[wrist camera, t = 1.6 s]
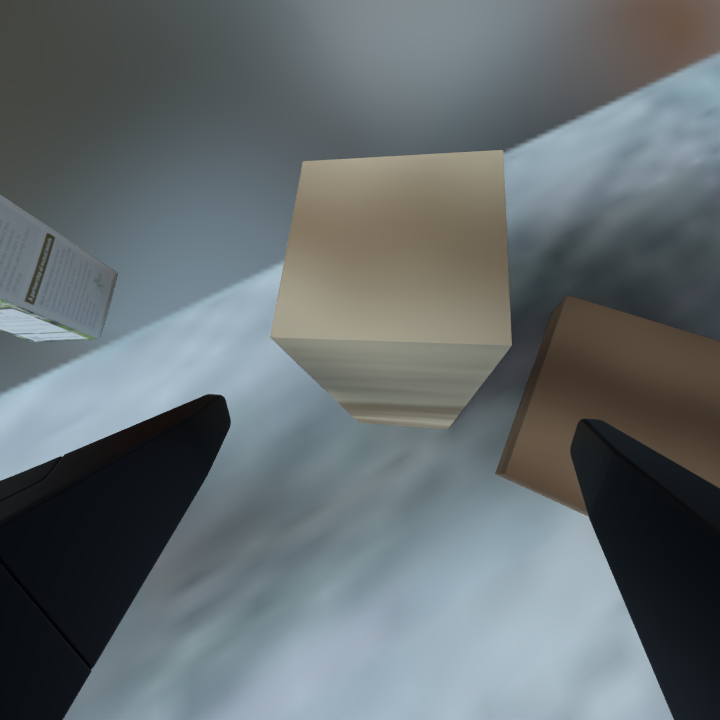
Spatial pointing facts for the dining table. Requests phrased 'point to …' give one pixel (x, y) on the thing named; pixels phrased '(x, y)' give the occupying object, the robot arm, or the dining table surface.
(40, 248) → the syrup box
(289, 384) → the dining table surface
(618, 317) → the walnut block
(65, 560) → the robot arm
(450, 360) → the maple block
